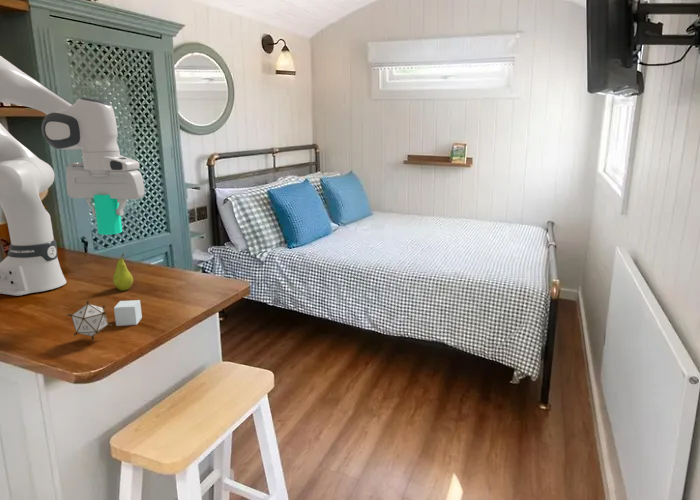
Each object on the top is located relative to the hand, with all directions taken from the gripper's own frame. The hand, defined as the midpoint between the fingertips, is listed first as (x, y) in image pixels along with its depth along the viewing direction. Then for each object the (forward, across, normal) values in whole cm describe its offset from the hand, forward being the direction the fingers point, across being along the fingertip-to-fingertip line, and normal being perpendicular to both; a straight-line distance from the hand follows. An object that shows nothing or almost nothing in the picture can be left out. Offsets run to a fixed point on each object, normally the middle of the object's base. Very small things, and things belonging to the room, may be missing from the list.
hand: (108, 215), depth 131 cm
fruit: (+27, -8, +15) cm, 32 cm away
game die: (+27, +6, -21) cm, 34 cm away
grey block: (+26, +8, -9) cm, 29 cm away
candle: (+5, 0, 0) cm, 5 cm away
